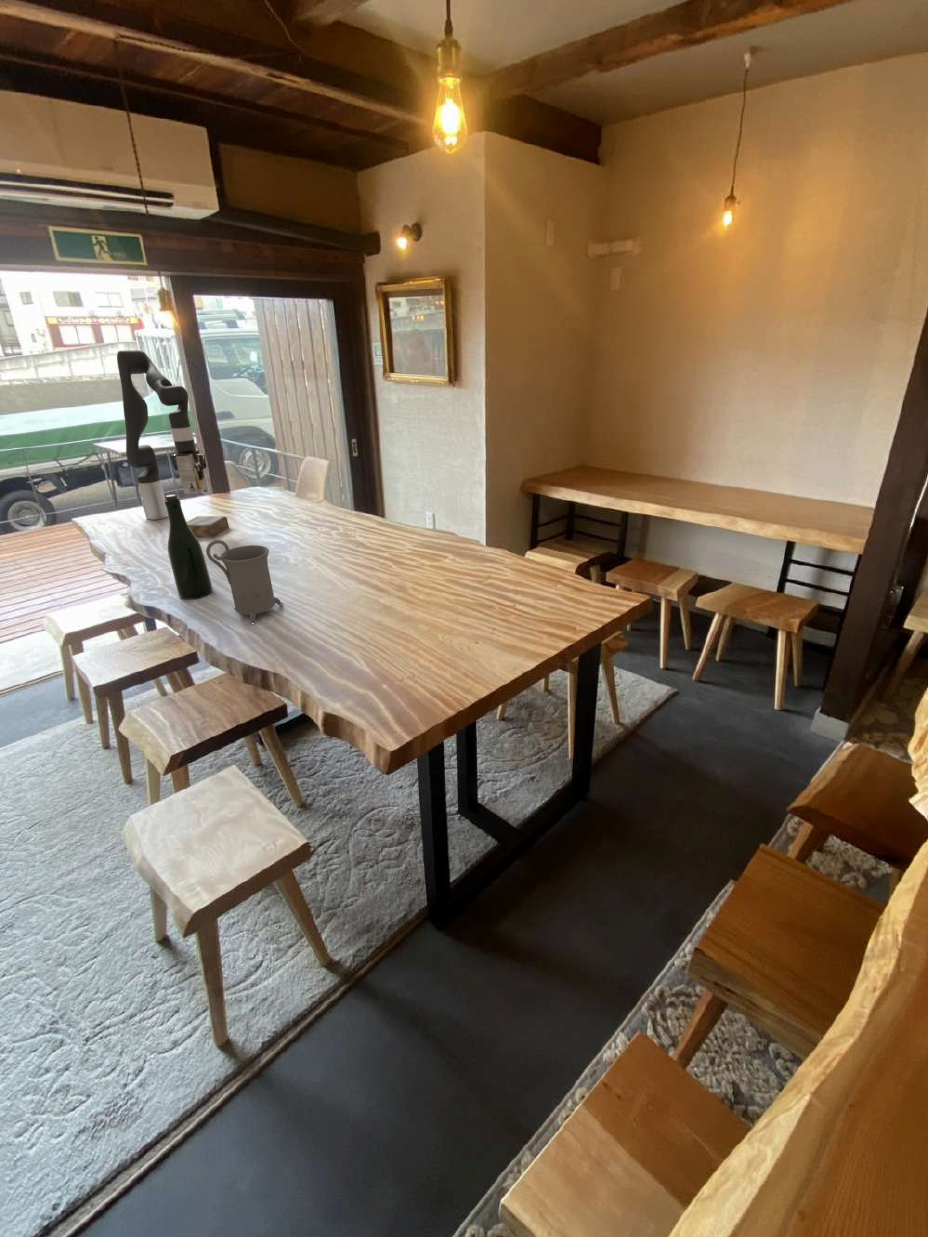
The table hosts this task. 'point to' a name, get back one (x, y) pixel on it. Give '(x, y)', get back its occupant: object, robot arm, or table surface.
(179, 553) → the beer bottle
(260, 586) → the mug
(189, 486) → the coffee box
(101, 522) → the table surface
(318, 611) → the table surface
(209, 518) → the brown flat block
